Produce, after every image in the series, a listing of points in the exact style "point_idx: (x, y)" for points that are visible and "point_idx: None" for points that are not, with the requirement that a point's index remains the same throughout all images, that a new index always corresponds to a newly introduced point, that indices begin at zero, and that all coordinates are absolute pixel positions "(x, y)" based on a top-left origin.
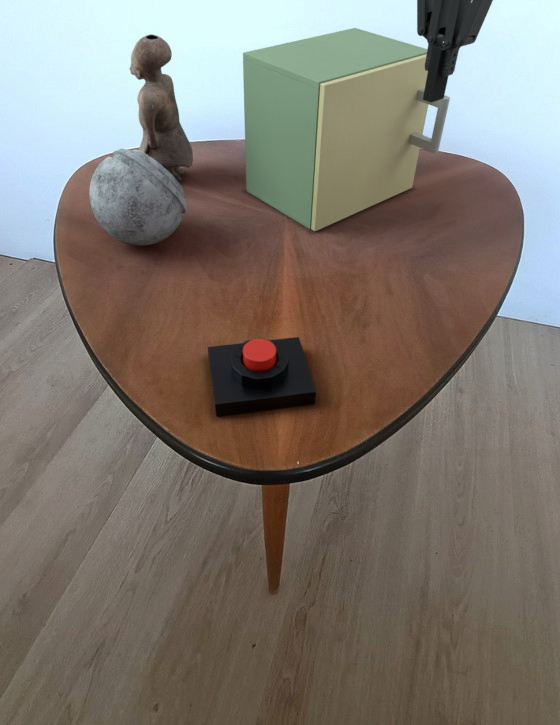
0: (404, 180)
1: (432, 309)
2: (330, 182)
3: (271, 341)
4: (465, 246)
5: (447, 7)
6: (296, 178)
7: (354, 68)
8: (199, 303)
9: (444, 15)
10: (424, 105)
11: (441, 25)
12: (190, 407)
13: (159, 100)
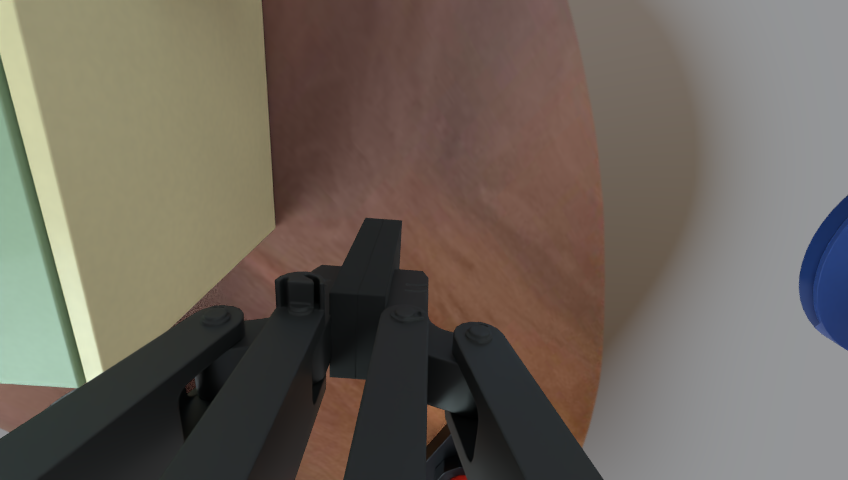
0: None
1: (534, 254)
2: (238, 227)
3: (454, 469)
4: (485, 59)
5: (279, 455)
6: None
7: (1, 215)
8: (319, 433)
9: (294, 434)
10: None
11: (310, 407)
12: None
13: None
